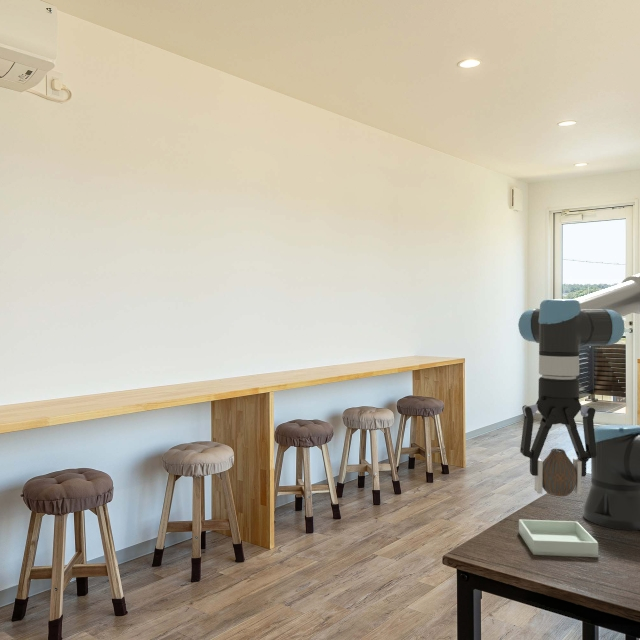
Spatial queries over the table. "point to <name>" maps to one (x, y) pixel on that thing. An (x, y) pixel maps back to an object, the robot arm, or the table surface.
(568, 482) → the vase
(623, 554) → the table surface
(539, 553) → the tray
